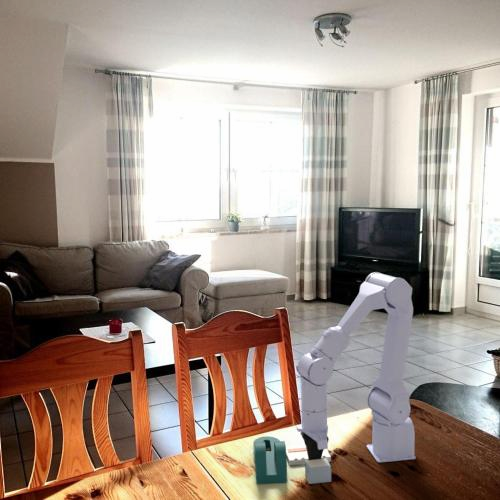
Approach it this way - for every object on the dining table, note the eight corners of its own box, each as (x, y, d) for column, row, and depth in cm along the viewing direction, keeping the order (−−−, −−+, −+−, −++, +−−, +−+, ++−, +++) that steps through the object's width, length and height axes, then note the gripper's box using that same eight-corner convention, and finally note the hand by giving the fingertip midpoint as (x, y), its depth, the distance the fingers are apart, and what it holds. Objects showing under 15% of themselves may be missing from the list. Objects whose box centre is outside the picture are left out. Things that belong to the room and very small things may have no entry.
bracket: (287, 483, 120) (286, 450, 119) (256, 485, 120) (255, 451, 119) (279, 444, 138) (279, 414, 137) (252, 445, 138) (252, 415, 137)
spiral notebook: (323, 448, 135) (323, 443, 134) (330, 461, 129) (330, 455, 129) (284, 452, 133) (284, 447, 133) (289, 465, 127) (289, 459, 127)
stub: (326, 473, 123) (326, 457, 123) (331, 481, 120) (331, 465, 119) (305, 475, 123) (305, 459, 122) (309, 483, 119) (308, 468, 119)
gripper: (289, 395, 129) (290, 449, 130) (304, 422, 114) (305, 483, 116) (318, 393, 130) (319, 447, 131) (337, 420, 115) (337, 479, 117)
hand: (314, 463), depth 124 cm, fingers closed
